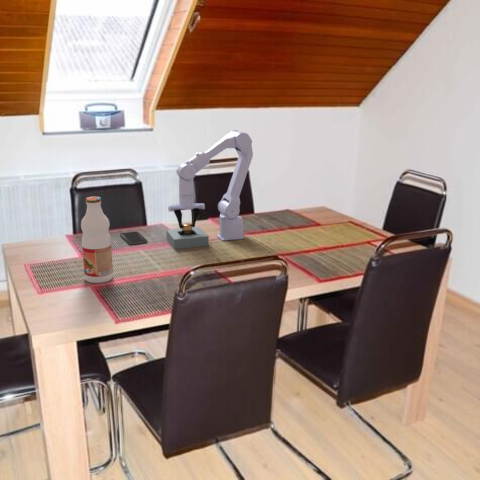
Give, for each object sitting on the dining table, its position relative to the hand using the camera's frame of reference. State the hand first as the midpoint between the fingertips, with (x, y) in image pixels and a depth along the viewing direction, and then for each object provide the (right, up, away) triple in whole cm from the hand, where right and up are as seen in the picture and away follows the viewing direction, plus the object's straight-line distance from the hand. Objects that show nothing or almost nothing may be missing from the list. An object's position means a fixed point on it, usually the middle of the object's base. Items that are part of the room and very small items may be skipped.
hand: (187, 227), depth 224 cm
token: (0, -2, +1) cm, 2 cm away
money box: (0, -6, +2) cm, 6 cm away
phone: (-23, -5, +6) cm, 24 cm away
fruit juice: (-26, -18, -36) cm, 48 cm away
